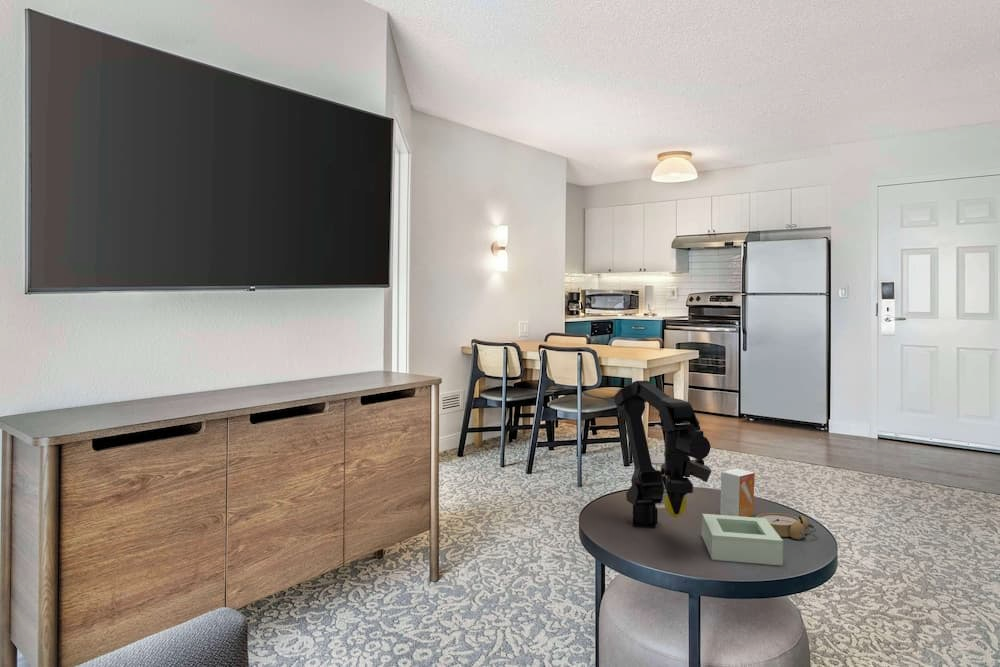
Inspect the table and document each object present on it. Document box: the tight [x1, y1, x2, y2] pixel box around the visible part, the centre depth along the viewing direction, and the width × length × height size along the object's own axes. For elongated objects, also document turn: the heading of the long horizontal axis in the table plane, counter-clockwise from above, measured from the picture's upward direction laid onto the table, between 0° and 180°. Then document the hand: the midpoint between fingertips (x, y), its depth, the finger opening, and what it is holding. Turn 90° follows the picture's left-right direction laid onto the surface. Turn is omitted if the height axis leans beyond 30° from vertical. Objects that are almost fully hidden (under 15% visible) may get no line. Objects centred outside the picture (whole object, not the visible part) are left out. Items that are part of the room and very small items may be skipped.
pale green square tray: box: [701, 513, 784, 567], centre depth 148 cm, size 16×16×6 cm
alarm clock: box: [756, 512, 816, 540], centre depth 161 cm, size 11×5×15 cm
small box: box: [719, 467, 755, 517], centre depth 175 cm, size 8×6×13 cm
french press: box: [650, 424, 667, 509], centre depth 185 cm, size 10×12×25 cm
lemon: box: [664, 493, 688, 519], centre depth 151 cm, size 6×6×8 cm
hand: (675, 510), depth 151 cm, fingers closed on lemon, 5 cm apart
